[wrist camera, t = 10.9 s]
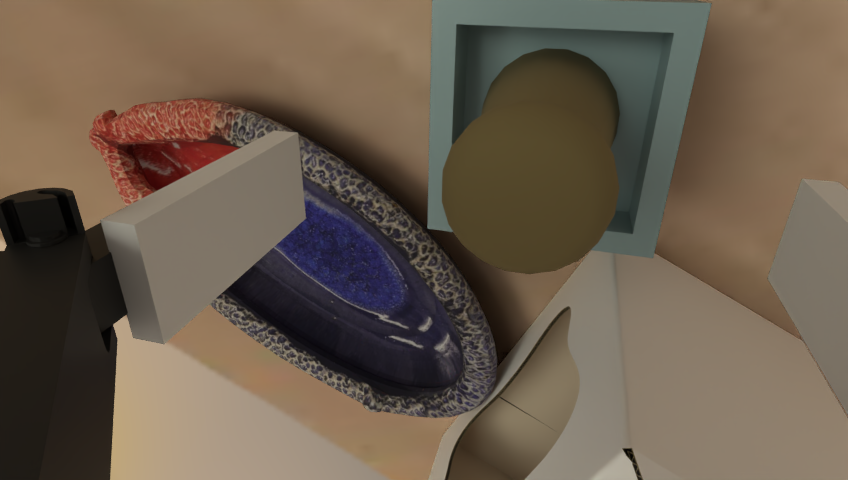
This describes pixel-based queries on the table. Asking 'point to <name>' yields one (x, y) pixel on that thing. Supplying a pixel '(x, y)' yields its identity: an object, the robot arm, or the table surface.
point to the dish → (326, 266)
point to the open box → (612, 51)
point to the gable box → (650, 390)
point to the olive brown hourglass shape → (536, 165)
